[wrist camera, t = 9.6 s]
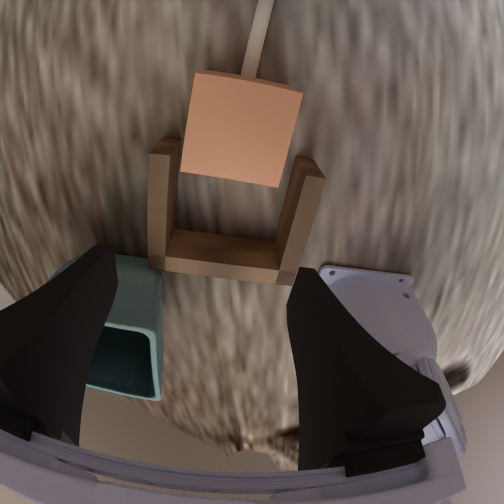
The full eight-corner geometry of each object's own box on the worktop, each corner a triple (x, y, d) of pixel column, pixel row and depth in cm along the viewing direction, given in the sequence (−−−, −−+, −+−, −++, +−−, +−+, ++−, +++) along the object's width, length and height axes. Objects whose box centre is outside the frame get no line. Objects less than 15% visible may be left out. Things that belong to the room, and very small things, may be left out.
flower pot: (75, 226, 22) (22, 304, 15) (178, 240, 23) (155, 332, 16) (89, 303, 27) (58, 379, 20) (175, 318, 28) (161, 402, 21)
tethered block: (319, -39, 12) (350, -70, 7) (269, 157, 20) (280, 196, 15) (237, -56, 11) (237, -96, 6) (193, 144, 19) (176, 179, 14)
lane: (313, 159, 20) (326, 179, 17) (285, 255, 24) (291, 285, 21) (163, 137, 18) (149, 153, 16) (158, 239, 23) (148, 268, 20)
